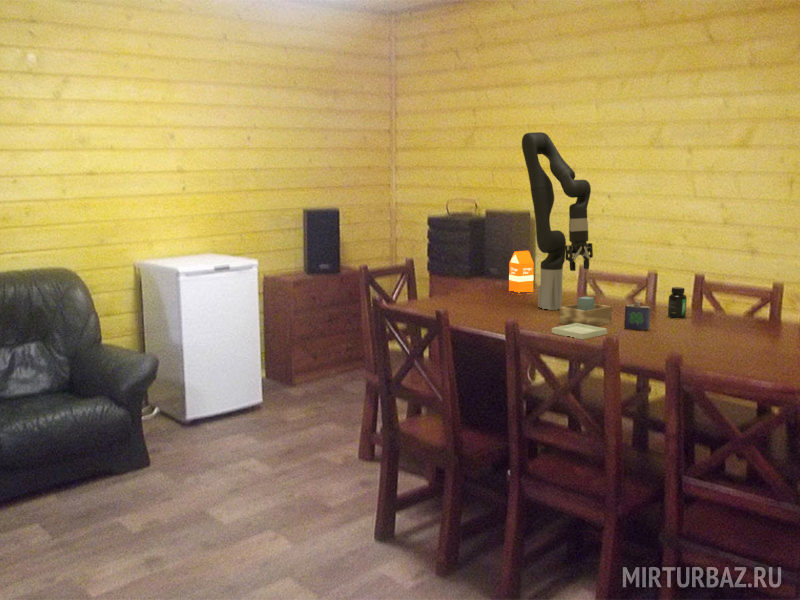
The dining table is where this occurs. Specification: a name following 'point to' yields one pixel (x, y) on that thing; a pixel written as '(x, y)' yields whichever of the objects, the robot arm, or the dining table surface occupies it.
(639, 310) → the flask
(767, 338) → the dining table surface
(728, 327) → the dining table surface
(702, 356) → the dining table surface
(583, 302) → the block
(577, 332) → the plate
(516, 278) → the orange juice
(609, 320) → the crate
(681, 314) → the supplement bottle
